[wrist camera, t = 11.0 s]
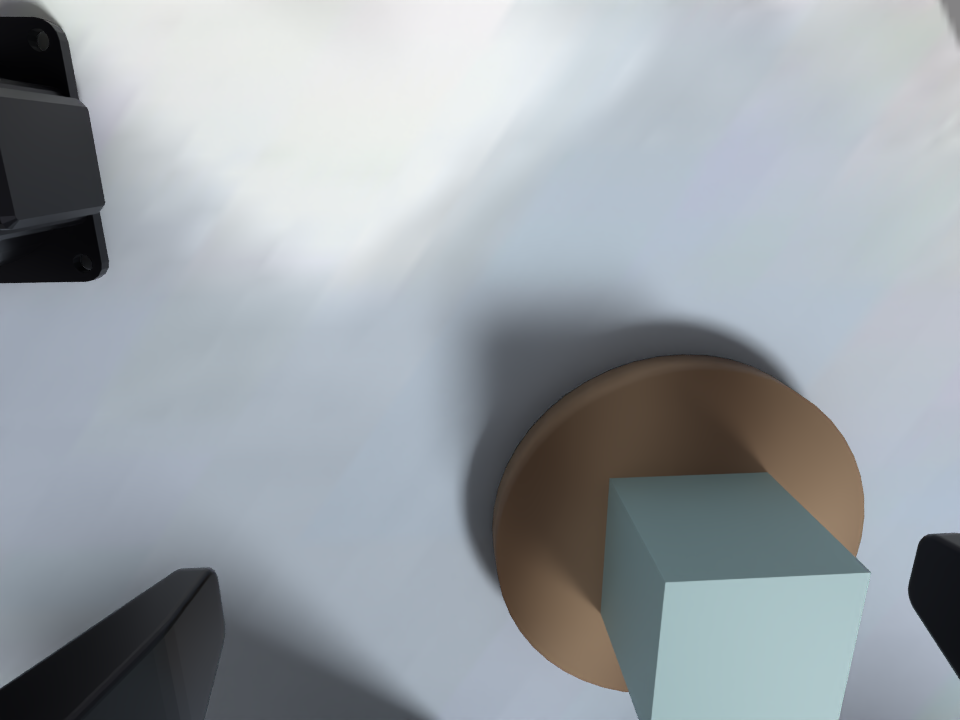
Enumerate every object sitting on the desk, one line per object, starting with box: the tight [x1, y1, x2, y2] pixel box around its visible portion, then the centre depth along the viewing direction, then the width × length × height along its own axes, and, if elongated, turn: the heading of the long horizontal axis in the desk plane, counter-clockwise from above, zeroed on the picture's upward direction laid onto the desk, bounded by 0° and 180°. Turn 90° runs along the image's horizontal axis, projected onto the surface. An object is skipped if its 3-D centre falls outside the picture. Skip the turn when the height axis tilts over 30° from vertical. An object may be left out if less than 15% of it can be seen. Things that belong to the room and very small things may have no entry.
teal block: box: [601, 472, 871, 720], centre depth 18 cm, size 5×5×5 cm
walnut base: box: [492, 354, 864, 692], centre depth 21 cm, size 12×12×2 cm
